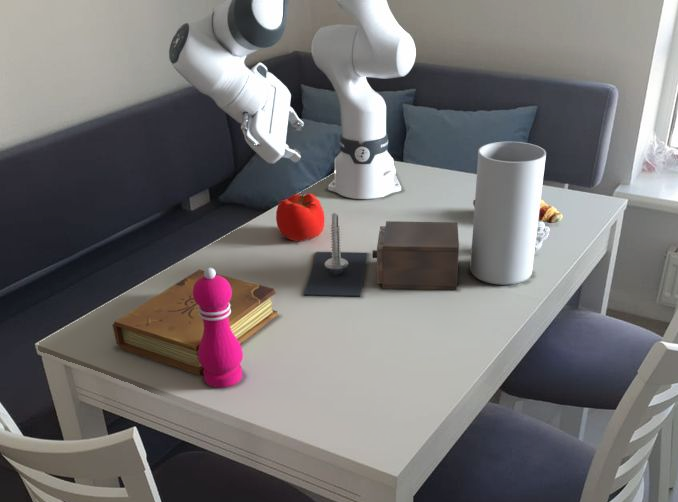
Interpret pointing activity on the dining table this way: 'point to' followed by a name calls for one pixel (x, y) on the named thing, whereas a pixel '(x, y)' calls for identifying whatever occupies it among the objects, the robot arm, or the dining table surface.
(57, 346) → the dining table surface
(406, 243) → the cabinet
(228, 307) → the pepper mill
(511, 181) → the cylinder vase
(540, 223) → the frog figurine
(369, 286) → the dining table surface
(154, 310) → the diary
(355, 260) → the mat
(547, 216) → the croissant
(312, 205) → the tomato
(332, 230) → the screw
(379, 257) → the drawer
